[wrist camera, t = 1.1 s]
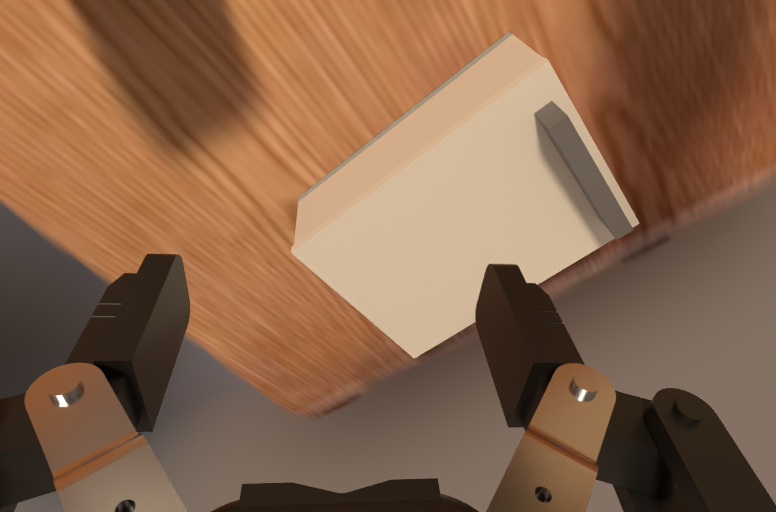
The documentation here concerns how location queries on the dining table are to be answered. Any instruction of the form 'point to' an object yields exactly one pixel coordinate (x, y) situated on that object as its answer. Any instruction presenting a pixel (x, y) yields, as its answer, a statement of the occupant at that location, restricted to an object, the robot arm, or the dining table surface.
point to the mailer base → (414, 130)
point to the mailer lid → (472, 214)
